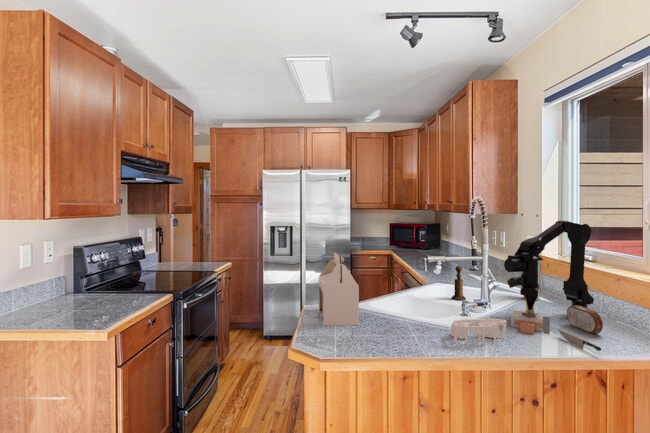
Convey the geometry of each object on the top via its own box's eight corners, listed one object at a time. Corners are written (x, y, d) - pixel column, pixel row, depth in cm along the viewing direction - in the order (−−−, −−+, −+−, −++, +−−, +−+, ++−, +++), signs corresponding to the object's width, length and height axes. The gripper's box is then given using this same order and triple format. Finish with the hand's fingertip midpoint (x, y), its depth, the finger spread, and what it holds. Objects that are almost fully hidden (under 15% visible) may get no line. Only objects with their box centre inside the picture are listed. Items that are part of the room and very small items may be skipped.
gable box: (359, 331, 140) (358, 257, 140) (323, 333, 139) (323, 257, 138) (349, 315, 162) (349, 250, 162) (318, 316, 161) (318, 251, 161)
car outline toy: (497, 336, 135) (497, 316, 135) (516, 347, 124) (516, 325, 124) (443, 338, 133) (443, 317, 133) (457, 349, 122) (457, 327, 122)
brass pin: (526, 317, 157) (526, 293, 157) (534, 318, 156) (534, 294, 156) (525, 319, 155) (525, 294, 155) (533, 320, 153) (534, 295, 153)
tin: (603, 336, 135) (603, 313, 135) (595, 336, 134) (595, 313, 134) (572, 323, 150) (573, 302, 150) (565, 324, 149) (565, 303, 149)
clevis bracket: (513, 322, 152) (513, 310, 152) (542, 326, 147) (543, 313, 147) (509, 332, 139) (509, 319, 139) (542, 337, 133) (542, 323, 133)
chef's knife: (556, 336, 134) (556, 328, 134) (559, 336, 134) (559, 328, 134) (599, 357, 115) (599, 347, 115) (602, 357, 115) (602, 347, 115)
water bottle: (526, 301, 187) (526, 251, 187) (521, 297, 195) (521, 249, 195) (546, 302, 186) (546, 251, 186) (540, 298, 194) (540, 250, 193)
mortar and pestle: (465, 301, 188) (465, 265, 188) (466, 304, 182) (466, 267, 182) (451, 300, 190) (451, 264, 190) (451, 302, 184) (451, 266, 184)
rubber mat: (512, 313, 165) (512, 312, 165) (549, 318, 158) (549, 317, 158) (506, 329, 143) (506, 328, 143) (549, 335, 135) (549, 334, 135)
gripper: (510, 267, 167) (510, 302, 167) (506, 272, 151) (506, 311, 151) (539, 269, 162) (539, 305, 162) (538, 275, 146) (538, 315, 146)
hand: (530, 308), depth 155 cm, fingers closed on brass pin, 3 cm apart
